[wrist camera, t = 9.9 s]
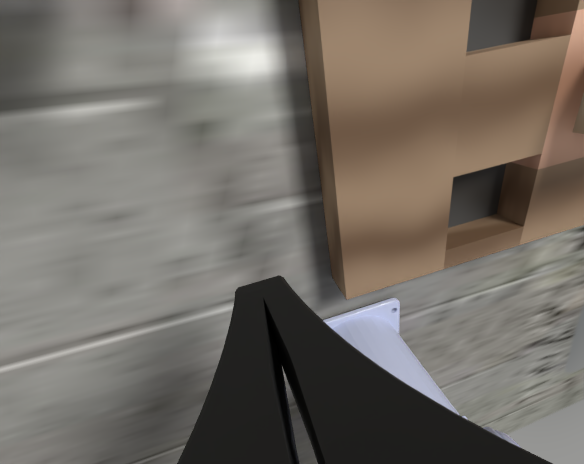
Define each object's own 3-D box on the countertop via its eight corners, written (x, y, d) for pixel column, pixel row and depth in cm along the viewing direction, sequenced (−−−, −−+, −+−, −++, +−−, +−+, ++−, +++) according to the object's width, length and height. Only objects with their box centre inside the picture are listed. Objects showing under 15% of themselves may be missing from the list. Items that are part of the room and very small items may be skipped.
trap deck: (585, 200, 25) (621, 212, 22) (332, 277, 21) (346, 299, 19) (702, -141, 15) (784, -176, 13) (286, -95, 12) (305, -132, 10)
